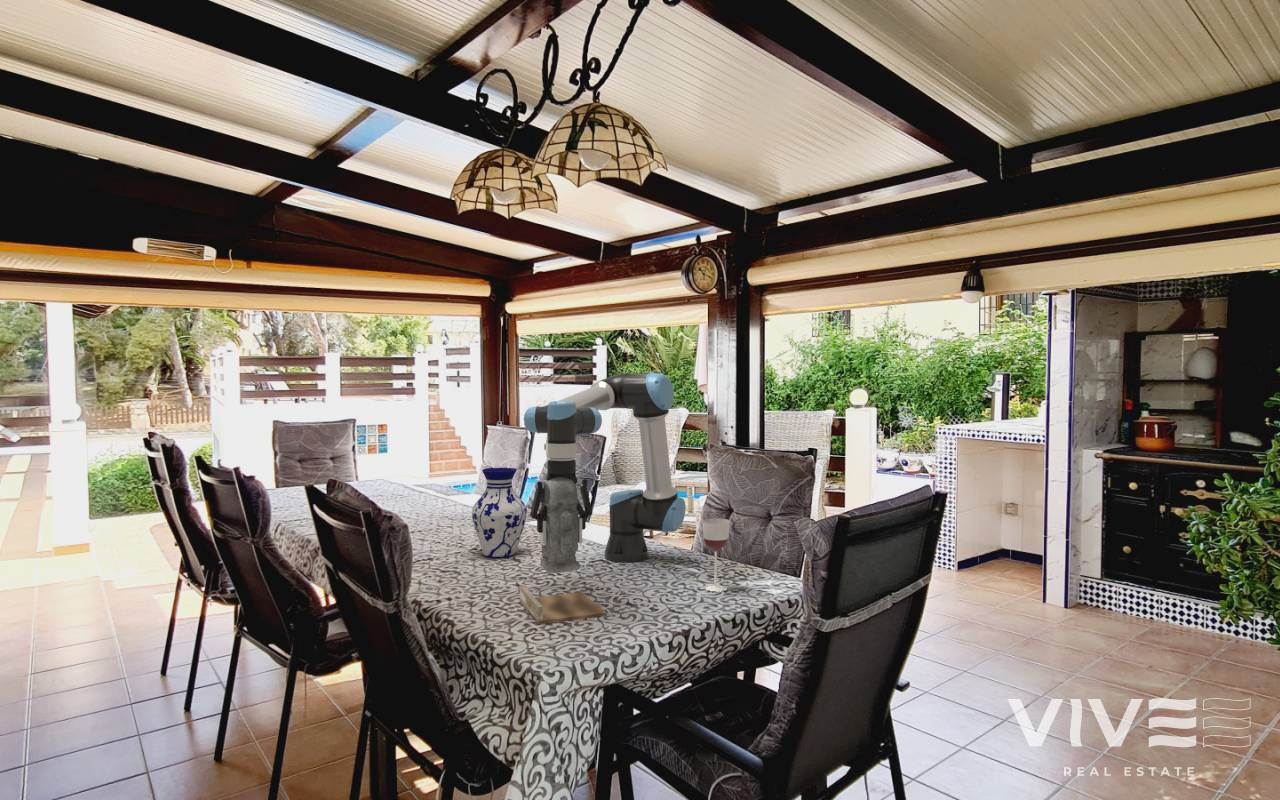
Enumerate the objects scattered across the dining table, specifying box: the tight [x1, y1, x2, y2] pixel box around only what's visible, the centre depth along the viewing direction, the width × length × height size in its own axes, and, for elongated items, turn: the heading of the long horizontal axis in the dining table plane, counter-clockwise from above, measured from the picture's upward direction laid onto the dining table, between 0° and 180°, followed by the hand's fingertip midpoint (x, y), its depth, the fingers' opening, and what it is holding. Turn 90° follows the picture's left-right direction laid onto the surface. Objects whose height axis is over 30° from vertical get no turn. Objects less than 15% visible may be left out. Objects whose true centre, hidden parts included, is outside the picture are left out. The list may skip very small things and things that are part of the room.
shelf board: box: [519, 585, 607, 625], centre depth 192 cm, size 18×20×4 cm
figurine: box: [539, 477, 581, 574], centre depth 192 cm, size 10×14×25 cm
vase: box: [471, 467, 528, 559], centre depth 253 cm, size 19×19×30 cm
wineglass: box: [701, 517, 730, 593], centre depth 211 cm, size 8×9×20 cm
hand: (561, 543), depth 192 cm, fingers closed on figurine, 9 cm apart
